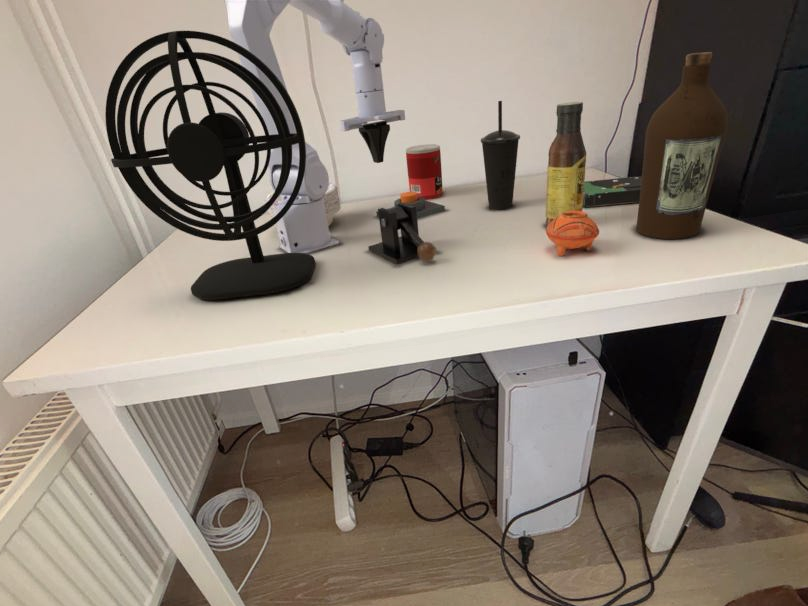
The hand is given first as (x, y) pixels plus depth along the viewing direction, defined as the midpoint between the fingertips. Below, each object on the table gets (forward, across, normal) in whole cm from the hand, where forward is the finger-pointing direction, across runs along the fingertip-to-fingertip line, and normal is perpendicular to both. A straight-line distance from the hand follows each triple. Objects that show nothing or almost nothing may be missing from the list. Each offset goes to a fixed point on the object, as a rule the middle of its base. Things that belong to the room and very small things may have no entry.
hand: (378, 162), depth 105 cm
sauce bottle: (+11, +16, -38) cm, 43 cm away
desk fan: (+11, -37, -20) cm, 43 cm away
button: (+8, +2, -8) cm, 11 cm away
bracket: (+10, -12, -27) cm, 31 cm away
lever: (+8, -12, -30) cm, 34 cm away
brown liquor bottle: (+11, +24, -53) cm, 59 cm away
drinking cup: (+11, +17, -20) cm, 28 cm away
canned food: (+11, +13, +2) cm, 17 cm away
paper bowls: (+11, -18, +2) cm, 21 cm away
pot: (+11, +7, -48) cm, 50 cm away
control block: (+10, +2, -8) cm, 13 cm away
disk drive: (+11, +35, -34) cm, 50 cm away
